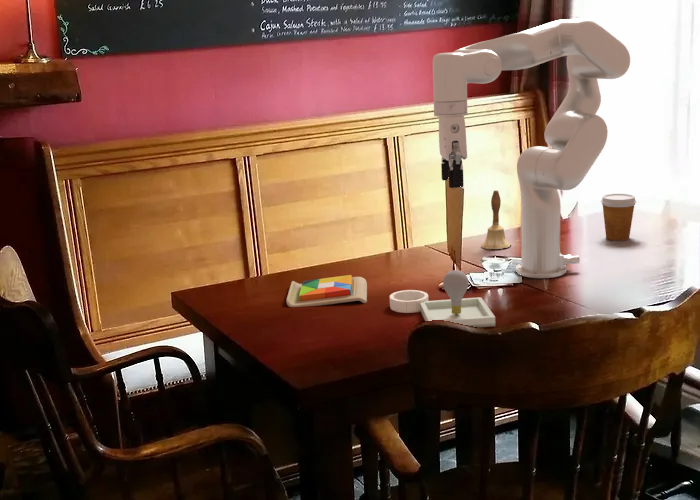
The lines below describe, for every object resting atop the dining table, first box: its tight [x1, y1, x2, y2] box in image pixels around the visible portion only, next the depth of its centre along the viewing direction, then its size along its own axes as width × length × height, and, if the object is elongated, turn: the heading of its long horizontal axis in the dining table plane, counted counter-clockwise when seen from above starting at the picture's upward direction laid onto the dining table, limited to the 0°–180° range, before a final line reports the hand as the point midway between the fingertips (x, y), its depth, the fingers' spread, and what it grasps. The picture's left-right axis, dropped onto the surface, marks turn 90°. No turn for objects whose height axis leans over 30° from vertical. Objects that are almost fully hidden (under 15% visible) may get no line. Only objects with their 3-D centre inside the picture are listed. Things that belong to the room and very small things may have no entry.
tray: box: [419, 296, 496, 328], centre depth 193 cm, size 14×14×2 cm
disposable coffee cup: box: [600, 193, 637, 242], centre depth 251 cm, size 10×10×12 cm
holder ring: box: [389, 289, 430, 314], centre depth 202 cm, size 9×9×3 cm
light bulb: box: [442, 269, 469, 315], centre depth 192 cm, size 6×5×10 cm
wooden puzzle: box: [286, 274, 368, 308], centre depth 215 cm, size 18×19×4 cm
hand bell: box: [480, 190, 511, 251], centre depth 248 cm, size 8×8×16 cm
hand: (452, 183), depth 204 cm, fingers open, 9 cm apart
